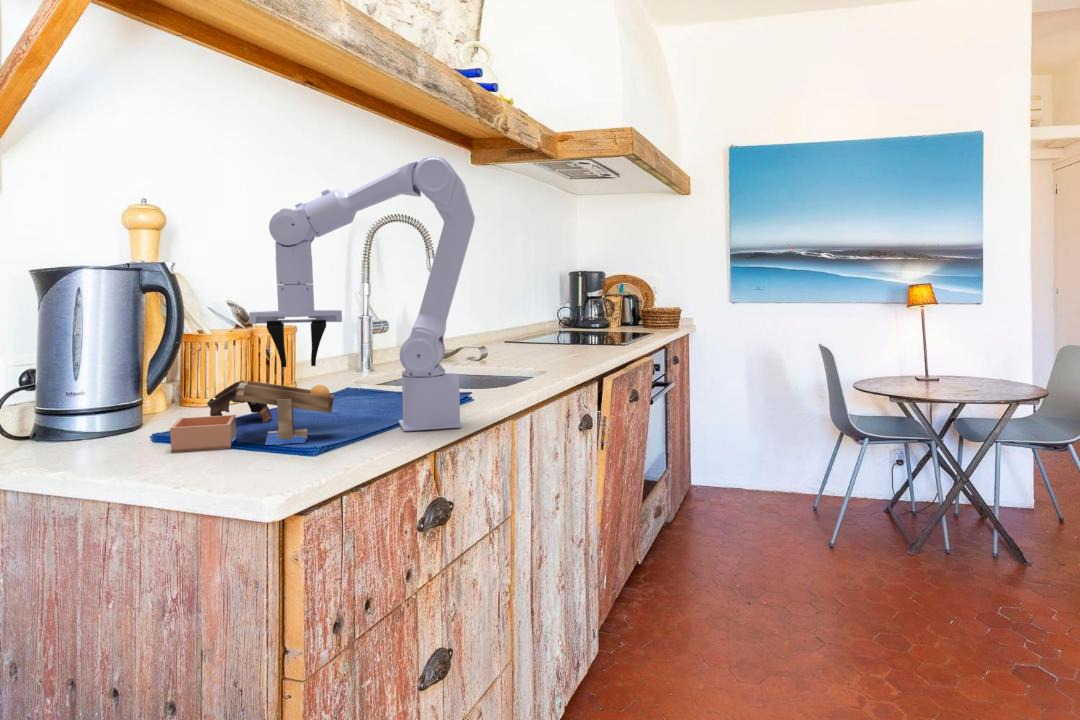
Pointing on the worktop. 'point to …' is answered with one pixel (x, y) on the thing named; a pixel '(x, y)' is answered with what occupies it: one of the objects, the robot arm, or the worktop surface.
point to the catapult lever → (283, 396)
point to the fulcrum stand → (287, 421)
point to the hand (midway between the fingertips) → (298, 366)
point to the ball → (320, 390)
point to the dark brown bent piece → (229, 395)
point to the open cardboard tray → (203, 433)
